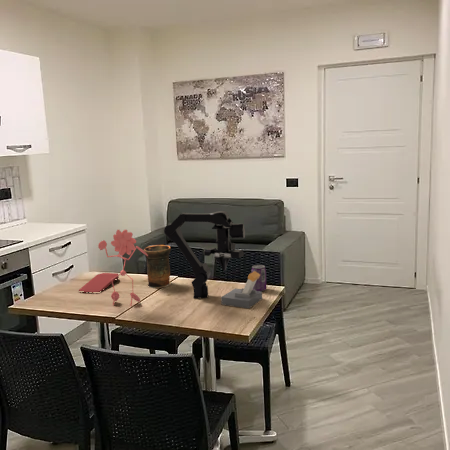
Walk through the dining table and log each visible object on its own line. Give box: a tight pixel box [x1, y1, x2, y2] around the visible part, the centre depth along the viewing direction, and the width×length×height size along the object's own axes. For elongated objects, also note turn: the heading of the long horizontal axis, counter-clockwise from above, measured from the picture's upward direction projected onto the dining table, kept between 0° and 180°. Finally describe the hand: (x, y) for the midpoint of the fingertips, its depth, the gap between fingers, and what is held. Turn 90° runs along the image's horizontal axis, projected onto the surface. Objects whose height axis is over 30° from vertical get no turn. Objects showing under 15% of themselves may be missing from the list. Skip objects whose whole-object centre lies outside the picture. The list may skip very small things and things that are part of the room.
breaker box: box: [220, 287, 263, 309], centre depth 222 cm, size 14×14×5 cm
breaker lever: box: [242, 271, 260, 294], centre depth 218 cm, size 3×6×10 cm, turn 151°
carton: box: [78, 272, 120, 292], centre depth 257 cm, size 12×5×25 cm
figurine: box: [97, 229, 148, 307], centre depth 227 cm, size 15×26×35 cm, turn 73°
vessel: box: [143, 244, 172, 289], centre depth 254 cm, size 14×14×20 cm
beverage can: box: [251, 264, 267, 292], centre depth 237 cm, size 7×7×12 cm
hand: (224, 270), depth 228 cm, fingers closed
